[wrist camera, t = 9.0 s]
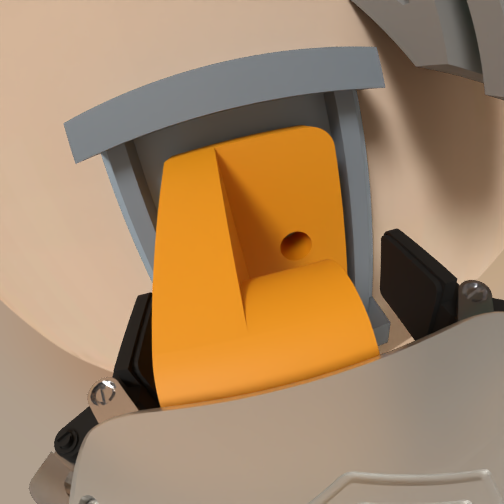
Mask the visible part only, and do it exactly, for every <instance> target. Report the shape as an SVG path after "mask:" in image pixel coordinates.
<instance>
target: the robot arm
mask: <svg viewBox="0 0 504 504" xmlns="http://www.w3.org/2000/svg"><path fill="white" fill-rule="evenodd" d="M380 291H381V294H382V296H383V298H384V299H385V300H386V302H387V303H388V304H389V306H390V307H391V308H392V310H393V311H394V312H395V314H396V315H397V316H398V318H399V319H400V320H401V322H402V323H403V324H404V326H405V327H406V329H407V330H408V331H409V333H410V334H411V336H412V337H413V338H414V340H415V341H413V342H411V343H409V344H407V345H404V346H402V347H399V348H397V349H394V350H392V351H389V352H387V353H384V354H382V355H379V356H376V357H374V358H371V359H368V360H366V361H363V362H360V363H357V364H354V365H351V366H348V367H345V368H342V369H339V370H336V371H333V372H330V373H327V374H323V375H320V376H317V377H313V378H310V379H306V380H303V381H299V382H295V383H291V384H288V385H284V386H280V387H275V388H271V389H267V390H263V391H258V392H254V393H249V394H244V395H239V396H234V397H228V398H223V399H217V400H211V401H204V402H198V403H191V404H184V405H177V406H169V407H160V403H159V399H158V395H157V390H156V385H155V379H154V372H153V359H152V293H147V294H142V295H139V296H138V297H137V299H136V302H135V305H134V308H133V311H132V314H131V317H130V320H129V323H128V326H127V329H126V332H125V335H124V338H123V341H122V344H121V347H120V351H119V354H118V357H117V361H116V364H115V368H114V373H113V377H106V378H102V379H100V380H98V381H97V382H95V383H94V384H93V385H92V387H91V388H90V390H89V392H88V396H87V400H88V404H89V407H88V408H86V409H85V410H84V411H83V412H82V413H80V414H79V415H78V416H77V417H76V418H75V419H73V420H72V421H71V422H70V423H68V424H67V425H66V426H65V427H64V428H62V429H61V430H60V431H59V432H58V434H57V436H56V438H55V441H54V447H55V450H56V452H55V453H53V452H50V454H49V455H48V457H47V458H46V460H45V461H44V463H43V464H42V465H41V467H40V468H39V470H38V471H37V472H36V474H35V475H34V477H33V478H32V480H31V482H30V486H29V490H30V494H31V496H32V498H33V499H34V500H35V502H36V503H37V504H504V300H500V299H495V298H492V293H491V291H490V289H489V288H488V287H487V286H486V285H485V284H484V283H482V282H480V281H476V280H467V281H464V282H463V283H461V285H459V284H458V283H457V278H456V277H455V276H454V275H453V274H452V273H450V272H449V271H448V270H447V269H446V268H445V267H444V266H443V265H441V264H440V263H439V262H438V261H437V260H436V259H435V258H433V257H432V256H431V255H430V254H429V253H427V252H426V251H425V250H424V249H423V248H422V247H420V246H419V245H418V244H417V243H415V242H414V241H413V240H412V239H411V238H409V237H408V236H407V235H406V234H404V233H403V232H402V231H400V230H399V229H393V230H390V231H386V232H385V233H384V236H382V238H381V277H380Z"/></svg>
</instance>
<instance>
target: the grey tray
mask: <svg viewBox="0 0 504 504" xmlns="http://www.w3.org/2000/svg"><path fill="white" fill-rule="evenodd" d="M372 88H385V83H384V78H383V73H382V69H381V64H380V60H379V55H378V51H377V47H325V48H310V49H299V50H289V51H281V52H274V53H267V54H261V55H255V56H249V57H244V58H239V59H234V60H229V61H225V62H220V63H216V64H212V65H208V66H204V67H201V68H197V69H193V70H190V71H186V72H183V73H180V74H177V75H173V76H170V77H167V78H164V79H161V80H159V81H156V82H153V83H150V84H147V85H145V86H142V87H139V88H137V89H134V90H132V91H129V92H127V93H125V94H122V95H120V96H118V97H115V98H113V99H111V100H109V101H106V102H104V103H102V104H100V105H98V106H96V107H94V108H92V109H90V110H88V111H86V112H84V113H82V114H80V115H78V116H76V117H74V118H72V119H70V120H69V121H67V122H65V123H64V127H65V130H66V134H67V137H68V141H69V144H70V147H71V151H72V154H73V157H74V160H75V163H76V164H77V163H79V162H81V161H84V160H86V159H88V158H91V157H93V156H95V155H98V154H100V153H101V155H102V159H103V162H104V165H105V168H106V171H107V173H108V176H109V179H110V182H111V185H112V188H113V190H114V193H115V196H116V198H117V201H118V204H119V206H120V209H121V211H122V214H123V217H124V219H125V222H126V224H127V226H128V229H129V231H130V234H131V236H132V238H133V241H134V243H135V245H136V248H137V250H138V252H139V255H140V257H141V259H142V261H143V263H144V266H145V268H146V270H147V272H148V274H149V276H150V279H151V281H152V283H153V269H154V252H155V239H156V227H157V216H158V207H159V198H160V190H161V182H162V174H163V167H164V162H165V161H167V160H168V159H169V158H170V157H171V156H174V155H177V154H180V153H183V152H187V151H190V150H194V149H197V148H201V147H204V146H208V145H211V144H215V143H219V142H223V141H227V140H231V139H235V138H239V137H243V136H247V135H252V134H256V133H261V132H266V131H270V130H275V129H280V128H286V127H291V126H297V125H305V126H311V127H317V128H320V129H323V130H324V131H326V132H327V133H328V134H329V135H330V136H331V138H332V139H333V141H334V145H335V151H336V157H337V164H338V172H339V180H340V188H341V197H342V206H343V217H344V228H345V242H346V257H347V275H348V277H349V278H350V280H351V281H352V283H353V285H354V286H355V288H356V290H357V292H358V294H359V296H360V298H361V300H362V303H363V305H364V307H365V310H366V312H367V315H368V317H369V320H370V323H371V326H372V329H373V332H374V335H375V338H376V342H377V346H379V345H382V344H384V343H387V342H388V337H389V330H390V321H389V320H388V318H387V317H386V315H385V314H384V313H383V311H382V310H381V308H380V307H379V306H378V304H377V303H376V301H375V300H374V299H373V297H372V278H373V243H372V214H371V197H370V184H369V173H368V163H367V154H366V146H365V139H364V132H363V125H362V118H361V112H360V107H359V101H358V96H357V91H356V90H360V89H372ZM293 233H294V232H292V233H290V234H288V235H287V236H286V237H289V236H291V235H292V234H293ZM286 237H285V238H286Z"/></svg>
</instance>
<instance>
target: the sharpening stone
mask: <svg viewBox="0 0 504 504" xmlns="http://www.w3.org/2000/svg"><path fill="white" fill-rule="evenodd" d="M351 1H352V2H354V3H355V4H356V5H357V6H358V7H359V8H361V9H362V10H363V11H364V12H365V13H366V14H367V15H368V16H369V17H370V18H371V19H372V20H374V21H375V22H376V23H377V24H378V25H379V26H380V27H381V28H382V29H383V30H384V31H385V32H386V33H387V34H388V35H389V37H390V38H391V39H392V40H393V41H394V42H395V43H396V44H397V45H398V46H399V47H400V48H401V50H402V51H403V52H404V53H405V54H406V55H407V57H408V58H409V59H410V60H411V61H412V62H413V64H414V65H415V66H416V67H421V68H426V69H431V70H436V71H441V72H445V73H449V74H453V75H457V76H461V77H465V78H468V79H472V80H475V81H478V82H482V83H484V88H485V95H488V96H492V97H495V98H498V99H501V100H504V0H351Z"/></svg>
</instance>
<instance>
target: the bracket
mask: <svg viewBox="0 0 504 504" xmlns="http://www.w3.org/2000/svg"><path fill="white" fill-rule="evenodd" d="M292 232H294V233H293V234H292V235H291V236H289V237H286V236H287V235H288V234H290V233H292ZM285 237H286V238H285ZM379 355H380V354H379V350H378V346H377V342H376V338H375V335H374V332H373V329H372V326H371V323H370V320H369V317H368V315H367V312H366V310H365V307H364V305H363V303H362V300H361V298H360V296H359V294H358V292H357V290H356V288H355V286H354V285H353V283H352V281H351V280H350V278H349V277H348V275H347V257H346V242H345V228H344V217H343V206H342V197H341V188H340V180H339V172H338V164H337V157H336V151H335V145H334V141H333V139H332V138H331V136H330V135H329V134H328V133H327V132H326V131H324V130H323V129H320V128H317V127H311V126H305V125H297V126H291V127H286V128H280V129H275V130H270V131H266V132H261V133H256V134H252V135H247V136H243V137H239V138H235V139H231V140H227V141H223V142H219V143H215V144H211V145H208V146H204V147H201V148H197V149H194V150H190V151H187V152H183V153H180V154H177V155H174V156H171V157H170V158H169V159H168V160H167V161H165V162H164V167H163V174H162V182H161V190H160V198H159V207H158V216H157V227H156V239H155V252H154V269H153V292H152V359H153V372H154V379H155V385H156V390H157V395H158V399H159V403H160V407H169V406H177V405H184V404H191V403H198V402H204V401H211V400H217V399H223V398H228V397H234V396H239V395H244V394H249V393H254V392H258V391H263V390H267V389H271V388H275V387H280V386H284V385H288V384H291V383H295V382H299V381H303V380H306V379H310V378H313V377H317V376H320V375H323V374H327V373H330V372H333V371H336V370H339V369H342V368H345V367H348V366H351V365H354V364H357V363H360V362H363V361H366V360H368V359H371V358H374V357H376V356H379Z"/></svg>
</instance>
